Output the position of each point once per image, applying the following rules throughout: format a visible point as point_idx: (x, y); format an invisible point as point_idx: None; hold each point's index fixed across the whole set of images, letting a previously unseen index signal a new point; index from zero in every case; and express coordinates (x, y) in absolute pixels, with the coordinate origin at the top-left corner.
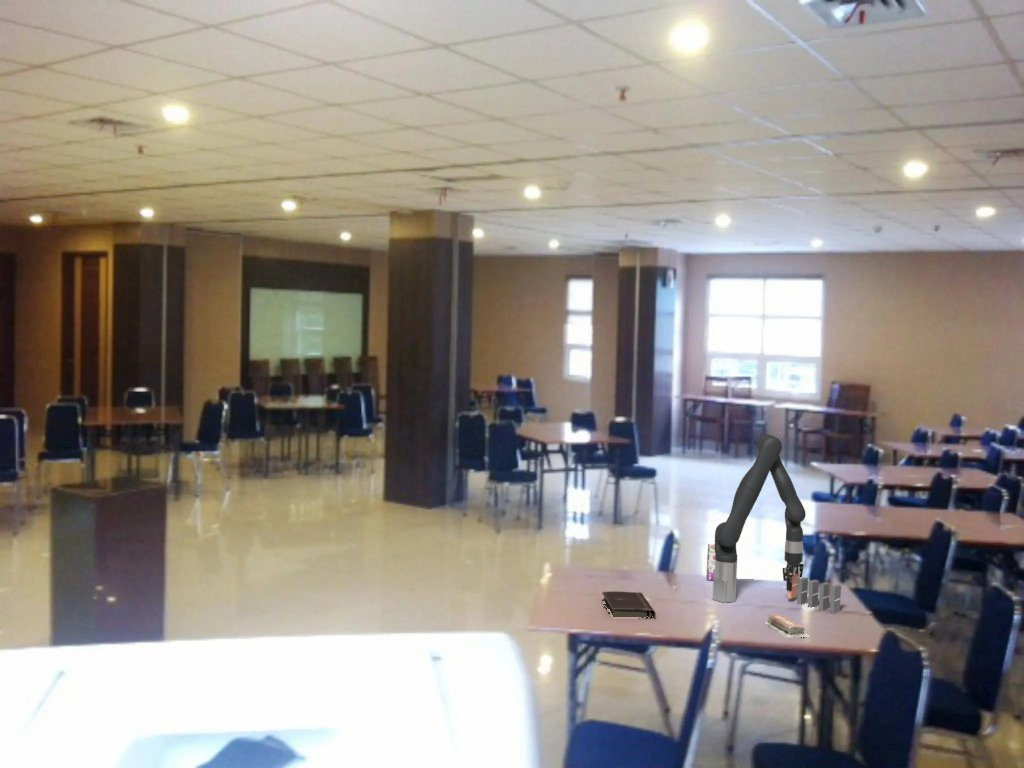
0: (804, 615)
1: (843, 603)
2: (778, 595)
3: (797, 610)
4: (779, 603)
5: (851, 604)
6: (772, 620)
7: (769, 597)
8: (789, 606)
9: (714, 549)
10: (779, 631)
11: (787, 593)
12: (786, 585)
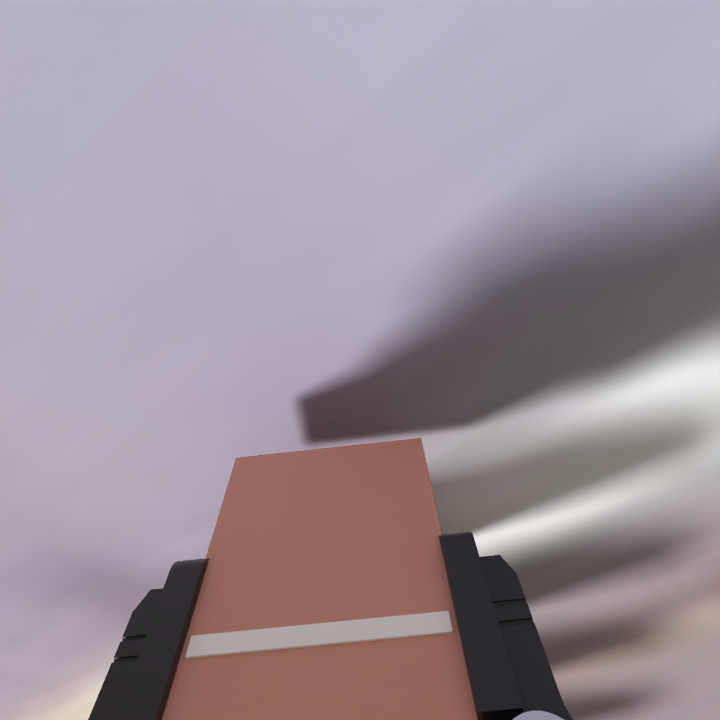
0: (65, 715)
1: (697, 679)
2: (419, 129)
3: (109, 632)
4: (90, 414)
5: (712, 711)
6: None
7: (164, 121)
8: (127, 534)
9: None
10: None
11: (222, 507)
12: (110, 667)
